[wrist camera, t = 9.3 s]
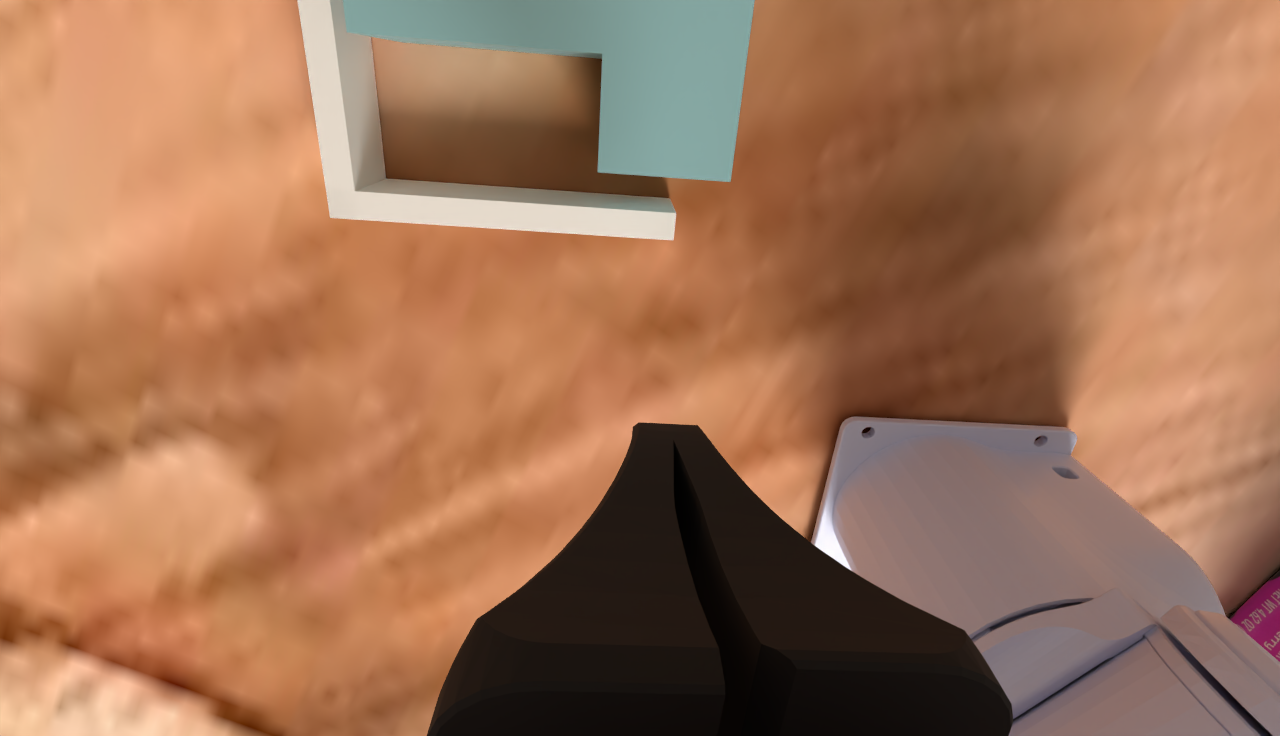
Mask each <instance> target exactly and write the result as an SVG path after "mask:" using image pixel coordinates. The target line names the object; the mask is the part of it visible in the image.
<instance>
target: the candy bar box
mask: <svg viewBox="0 0 1280 736" xmlns="http://www.w3.org/2000/svg"><path fill="white" fill-rule="evenodd" d="M1228 619H1230V620H1231V621H1232V622H1233V623H1235V624H1236V625H1237V626H1238V627H1239V628H1241V629H1242V630H1243V631H1244V632H1245V633H1246V634H1248V635H1249V636H1250V637H1251V638H1252V639H1254V640H1255V641H1256V642H1257V643H1258V644H1259V645H1261V646H1262V647H1263V648H1264V649H1265V650H1266V651H1268V652H1269V653H1270V654H1271V655H1272V656H1273V657H1275V658H1276V659H1277V660H1278V661H1279V662H1280V570H1279V571H1278V572H1277V573H1276V574H1275V575H1274V576H1273V577H1272V578H1271V579H1269V580H1268V581H1267V582H1266V583H1265V584H1264V585H1263V586H1262V587H1261V588H1260V589H1259V590H1258V591H1257V592H1256V593H1255V594H1254V595H1253V596H1252V597H1250V598H1249V599H1248V600H1247V601H1246V602H1245V603H1244V604H1243V605H1242V606H1241V607H1240V608H1239V609H1238V610H1237V611H1236V612H1235V613H1234V614H1233V615H1232V616H1231V617H1230V618H1228Z"/></svg>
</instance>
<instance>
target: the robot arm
mask: <svg viewBox="0 0 1280 736" xmlns="http://www.w3.org/2000/svg"><path fill="white" fill-rule="evenodd" d="M866 427H871V429H870V431H868V432H867V433H862V431H863V429H865V428H866ZM1039 436H1041V437H1040V438H1039V439H1038V440H1036V441H1035V439H1036V438H1037V437H1039ZM1076 441H1077V435H1076V434H1075V433H1074V432H1073V431H1071V430H1070V429H1069V428H1066V427H1055V426H1035V425H1015V424H995V423H975V422H955V421H935V420H915V419H896V418H876V417H856V416H855V417H850V418H848V419H846V420H845V421H843V422H842V424H841V426H840V430H839V434H838V438H837V442H836V445H835V449H834V453H833V457H832V461H831V465H830V469H829V473H828V477H827V481H826V485H825V489H824V493H823V497H822V501H821V505H820V509H819V513H818V517H817V521H816V525H815V529H814V532H813V536H812V540H811V542H809V541H808V540H807V539H805V538H804V537H803V536H802V535H800V534H799V533H798V532H797V531H796V530H794V529H793V528H792V527H791V526H789V525H788V524H787V523H786V522H785V521H783V520H782V519H781V518H780V517H779V516H778V515H777V514H775V513H774V512H773V511H772V510H771V509H770V508H769V507H768V506H767V505H766V504H765V503H764V502H763V501H762V500H761V499H760V498H759V497H758V496H757V495H756V494H755V493H754V492H753V491H752V490H751V489H750V488H749V487H748V486H747V485H746V484H745V483H744V481H743V480H742V479H741V478H740V477H739V476H738V475H737V473H736V472H735V471H734V470H733V469H732V468H731V467H730V465H729V464H728V463H727V462H726V460H725V459H724V458H723V457H722V456H721V454H720V453H719V452H718V451H717V449H716V448H715V447H714V445H713V444H712V443H711V441H710V440H709V439H708V438H707V436H706V435H705V434H704V432H703V431H702V430H701V429H700V428H699V426H698V425H679V424H658V423H638V424H636V425H635V426H634V427H633V432H632V440H631V443H630V446H629V449H628V452H627V454H626V457H625V459H624V461H623V463H622V465H621V467H620V469H619V472H618V474H617V476H616V478H615V479H614V481H613V483H612V484H611V486H610V488H609V489H608V491H607V493H606V494H605V496H604V498H603V499H602V501H601V502H600V504H599V505H598V507H597V508H596V510H595V511H594V512H593V514H592V515H591V517H590V518H589V519H588V520H587V522H586V523H585V524H584V526H583V527H582V528H581V529H580V531H579V532H578V533H577V534H576V535H575V536H574V537H573V539H572V540H571V541H570V542H569V543H568V544H567V545H566V546H565V548H564V549H563V550H562V551H561V552H560V553H559V554H558V555H557V556H556V557H555V558H554V559H553V560H552V561H551V562H550V563H548V564H547V565H546V566H545V567H544V568H543V569H542V570H541V571H539V572H538V573H537V574H536V575H535V576H534V577H533V578H532V579H530V580H529V581H528V582H527V583H526V584H525V585H524V586H522V587H521V588H520V589H519V590H517V591H516V592H515V593H513V594H512V595H511V596H509V597H508V598H506V599H505V600H504V601H502V602H501V603H499V604H498V605H497V606H495V607H494V608H492V609H491V610H490V611H488V612H487V613H485V614H484V615H482V616H481V617H479V618H478V619H477V620H476V622H475V623H474V625H473V627H472V628H471V630H470V632H469V634H468V636H467V637H466V639H465V641H464V643H463V644H462V646H461V648H460V650H459V652H458V654H457V656H456V658H455V660H454V662H453V664H452V666H451V668H450V671H449V673H448V675H447V677H446V680H445V682H444V684H443V687H442V689H441V692H440V694H439V697H438V701H437V704H436V707H435V710H434V714H433V717H432V720H431V724H430V727H429V730H428V734H427V736H1280V662H1279V661H1278V660H1277V659H1276V658H1275V657H1273V656H1272V655H1271V654H1270V653H1269V652H1268V651H1266V650H1265V649H1264V648H1263V647H1262V646H1261V645H1259V644H1258V643H1257V642H1256V641H1255V640H1254V639H1252V638H1251V637H1250V636H1249V635H1248V634H1246V633H1245V632H1244V631H1243V630H1242V629H1241V628H1239V627H1238V626H1237V625H1236V624H1235V623H1233V622H1232V621H1231V620H1230V619H1228V618H1227V617H1226V615H1225V613H1224V610H1223V607H1222V605H1221V602H1220V600H1219V598H1218V596H1217V594H1216V592H1215V590H1214V588H1213V586H1212V584H1211V583H1210V581H1209V580H1208V578H1207V577H1206V575H1205V574H1204V572H1203V571H1202V569H1201V568H1200V567H1199V566H1198V564H1197V563H1196V562H1195V561H1194V560H1193V558H1192V557H1191V556H1190V555H1189V554H1188V553H1187V552H1186V551H1185V550H1183V549H1182V548H1181V547H1180V546H1179V545H1178V544H1176V543H1175V542H1174V541H1173V540H1172V539H1170V538H1169V537H1168V536H1167V535H1166V534H1164V533H1163V532H1162V531H1161V530H1160V529H1158V528H1157V527H1156V526H1155V525H1154V524H1152V523H1151V522H1150V521H1149V520H1148V519H1146V518H1145V517H1144V516H1143V515H1142V514H1140V513H1139V512H1138V511H1137V510H1136V509H1134V508H1133V507H1132V506H1131V505H1130V504H1128V503H1127V502H1126V501H1125V500H1124V499H1122V498H1121V497H1120V496H1119V495H1118V494H1116V493H1115V492H1114V491H1113V490H1112V489H1110V488H1109V487H1108V486H1107V485H1106V484H1104V483H1103V482H1102V481H1101V480H1100V479H1098V478H1097V477H1096V476H1095V475H1094V474H1092V473H1091V472H1090V471H1089V470H1088V469H1086V468H1085V467H1084V466H1083V465H1082V464H1080V463H1079V462H1078V461H1077V460H1076V459H1074V458H1073V457H1072V456H1071V453H1072V451H1073V448H1074V446H1075V444H1076Z"/></svg>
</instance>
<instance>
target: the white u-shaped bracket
mask: <svg viewBox="0 0 1280 736" xmlns="http://www.w3.org/2000/svg"><path fill="white" fill-rule="evenodd" d="M297 1H298V7H299V14H300V21H301V27H302V34H303V41H304V47H305V54H306V61H307V67H308V74H309V80H310V87H311V94H312V100H313V107H314V114H315V120H316V127H317V134H318V140H319V147H320V154H321V160H322V167H323V173H324V180H325V187H326V193H327V200H328V207H329V213H330V218H341V219H357V220H372V221H387V222H402V223H417V224H433V225H448V226H463V227H478V228H493V229H509V230H524V231H539V232H554V233H569V234H585V235H600V236H615V237H630V238H646V239H661V240H674V230H675V220H676V212H675V209H674V207H673V204H672V202H671V200H670V198H659V197H645V196H631V195H616V194H602V193H588V192H573V191H559V190H545V189H530V188H516V187H501V186H487V185H473V184H458V183H444V182H430V181H415V180H401V179H387V178H386V172H385V163H384V154H383V144H382V135H381V126H380V116H379V107H378V98H377V88H376V79H375V70H374V60H373V51H372V42H371V37H370V36H365V35H359V34H354V33H348V32H347V30H346V22H345V14H344V6H343V0H297Z"/></svg>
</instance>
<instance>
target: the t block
mask: <svg viewBox="0 0 1280 736" xmlns="http://www.w3.org/2000/svg"><path fill="white" fill-rule="evenodd" d="M754 1H755V0H343V6H344V14H345V22H346V30H347V32H348V33H354V34H359V35H365V36H370V37H376V38H381V39H387V40H392V41H398V42H404V43H416V44H428V45H440V46H452V47H464V48H477V49H489V50H501V51H513V52H525V53H537V54H550V55H562V56H574V57H586V58H598V59H602V75H601V100H600V125H599V150H598V172H599V173H613V174H627V175H641V176H655V177H669V178H683V179H697V180H711V181H725V182H731V174H732V167H733V159H734V152H735V144H736V137H737V129H738V122H739V114H740V106H741V99H742V91H743V84H744V76H745V69H746V61H747V54H748V46H749V39H750V31H751V24H752V16H753V9H754Z"/></svg>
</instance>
